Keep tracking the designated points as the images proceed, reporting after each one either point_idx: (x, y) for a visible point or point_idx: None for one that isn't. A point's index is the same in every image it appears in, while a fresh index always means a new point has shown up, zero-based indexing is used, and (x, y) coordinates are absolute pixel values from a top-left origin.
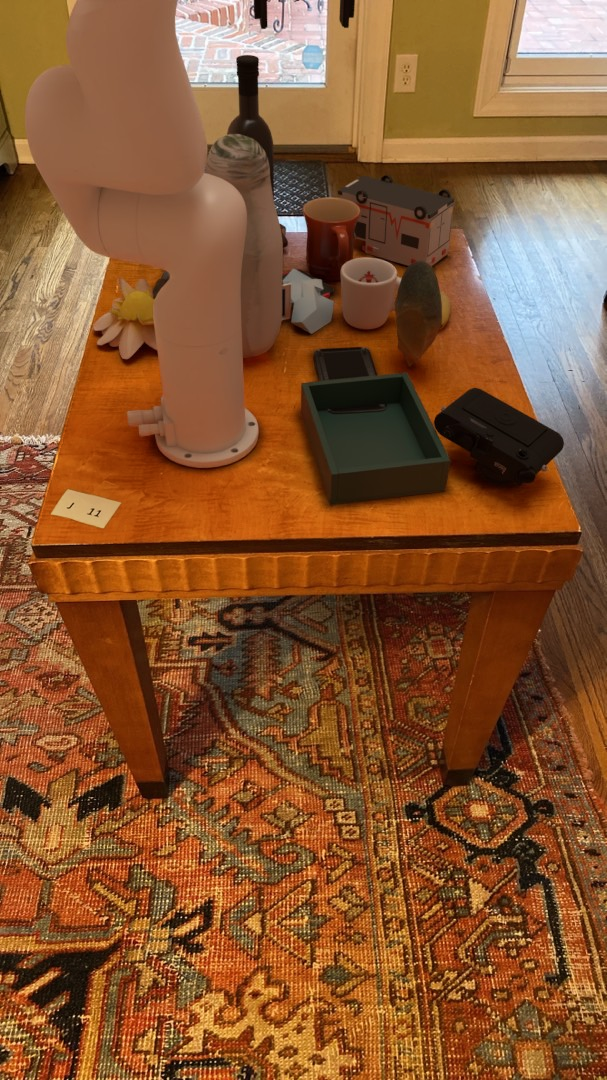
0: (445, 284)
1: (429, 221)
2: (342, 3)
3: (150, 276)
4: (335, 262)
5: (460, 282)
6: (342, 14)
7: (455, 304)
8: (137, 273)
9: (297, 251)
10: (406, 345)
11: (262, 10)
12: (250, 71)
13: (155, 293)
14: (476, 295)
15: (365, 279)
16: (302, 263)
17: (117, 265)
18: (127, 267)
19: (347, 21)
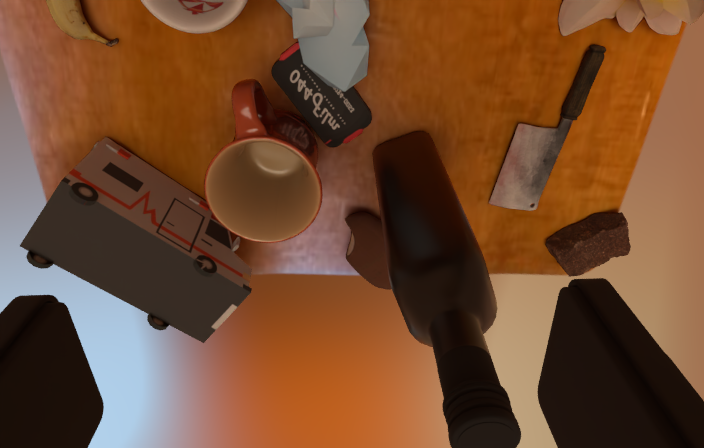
0: (68, 95)
1: (68, 175)
2: (12, 438)
3: (581, 145)
4: (264, 97)
5: (40, 101)
6: (40, 369)
7: (43, 19)
8: (601, 156)
9: (328, 216)
10: None
11: (649, 346)
12: (476, 394)
13: (593, 64)
14: (6, 51)
15: (204, 9)
16: (322, 177)
17: (628, 183)
18: (613, 176)
19: (10, 313)
